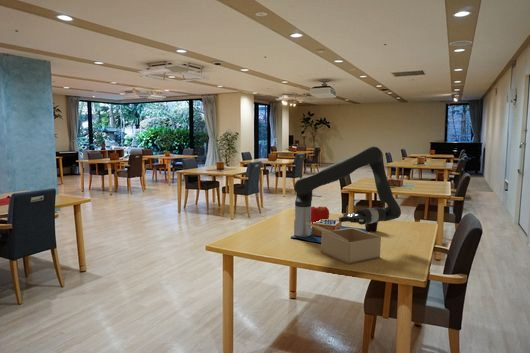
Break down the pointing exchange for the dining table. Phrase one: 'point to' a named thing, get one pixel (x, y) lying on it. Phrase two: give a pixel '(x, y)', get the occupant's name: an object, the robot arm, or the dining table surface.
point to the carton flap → (327, 231)
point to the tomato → (319, 213)
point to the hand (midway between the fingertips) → (340, 219)
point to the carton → (351, 245)
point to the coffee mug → (371, 227)
